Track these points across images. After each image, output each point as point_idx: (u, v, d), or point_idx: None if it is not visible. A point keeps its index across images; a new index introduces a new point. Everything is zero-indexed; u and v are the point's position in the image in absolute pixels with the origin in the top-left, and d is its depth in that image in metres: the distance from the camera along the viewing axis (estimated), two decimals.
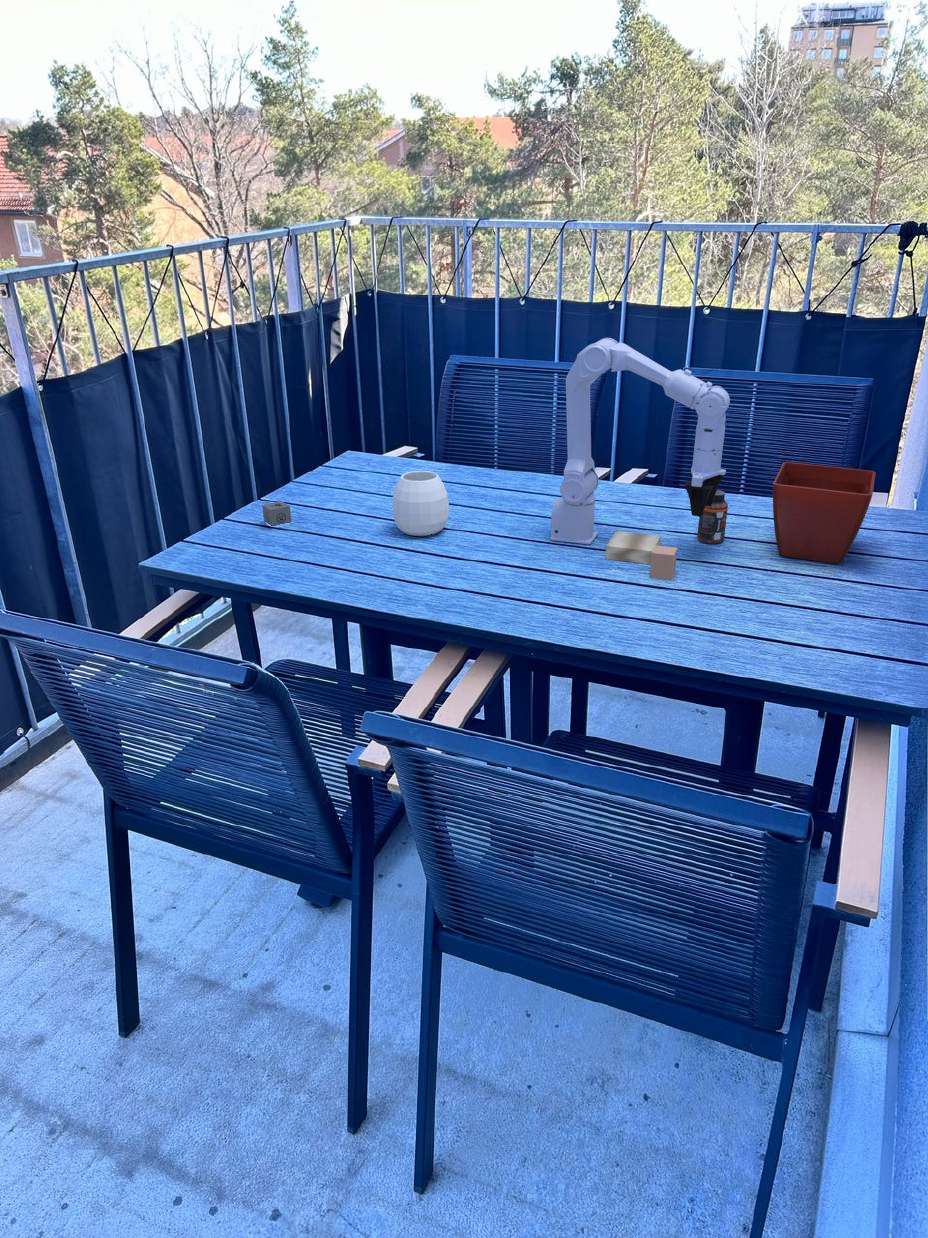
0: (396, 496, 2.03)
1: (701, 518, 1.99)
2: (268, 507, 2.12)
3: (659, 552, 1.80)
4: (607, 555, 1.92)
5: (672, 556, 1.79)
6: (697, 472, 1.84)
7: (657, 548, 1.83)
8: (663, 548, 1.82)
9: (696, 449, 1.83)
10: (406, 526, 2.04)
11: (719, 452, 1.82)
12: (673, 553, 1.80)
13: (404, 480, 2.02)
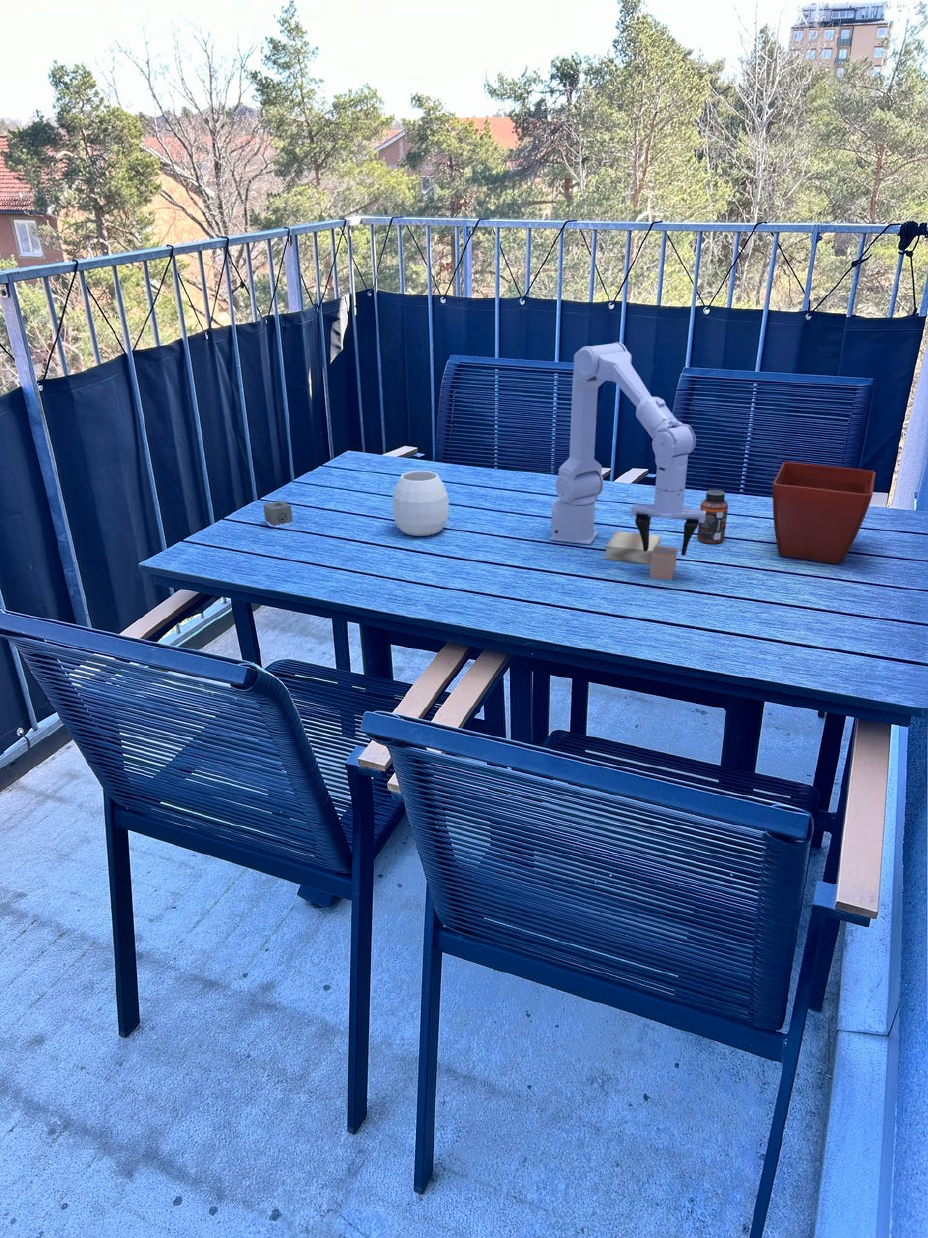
0: (396, 496, 2.03)
1: None
2: (269, 507, 2.12)
3: (659, 552, 1.80)
4: (607, 555, 1.92)
5: (672, 556, 1.79)
6: None
7: (657, 548, 1.83)
8: (663, 548, 1.82)
9: None
10: (406, 526, 2.04)
11: (662, 492, 1.74)
12: (673, 553, 1.80)
13: (404, 480, 2.02)
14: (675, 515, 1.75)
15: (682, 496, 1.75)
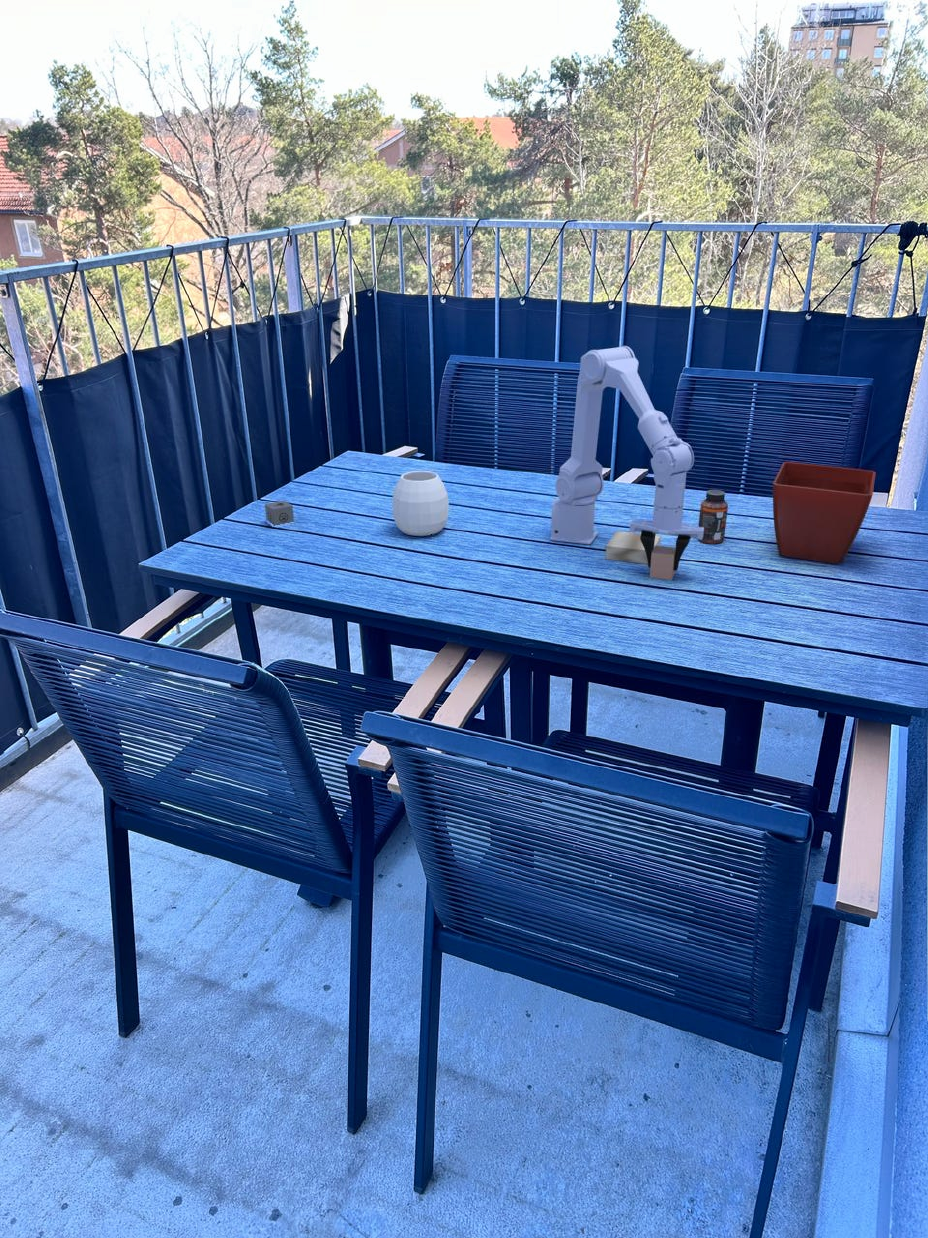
0: (396, 496, 2.03)
1: (701, 518, 1.99)
2: (271, 506, 2.12)
3: (659, 552, 1.80)
4: (607, 555, 1.92)
5: (672, 556, 1.79)
6: (653, 523, 1.81)
7: (657, 547, 1.82)
8: (663, 547, 1.82)
9: None
10: (406, 526, 2.04)
11: (660, 509, 1.76)
12: (673, 553, 1.80)
13: (404, 480, 2.02)
14: (673, 532, 1.77)
15: (680, 513, 1.76)
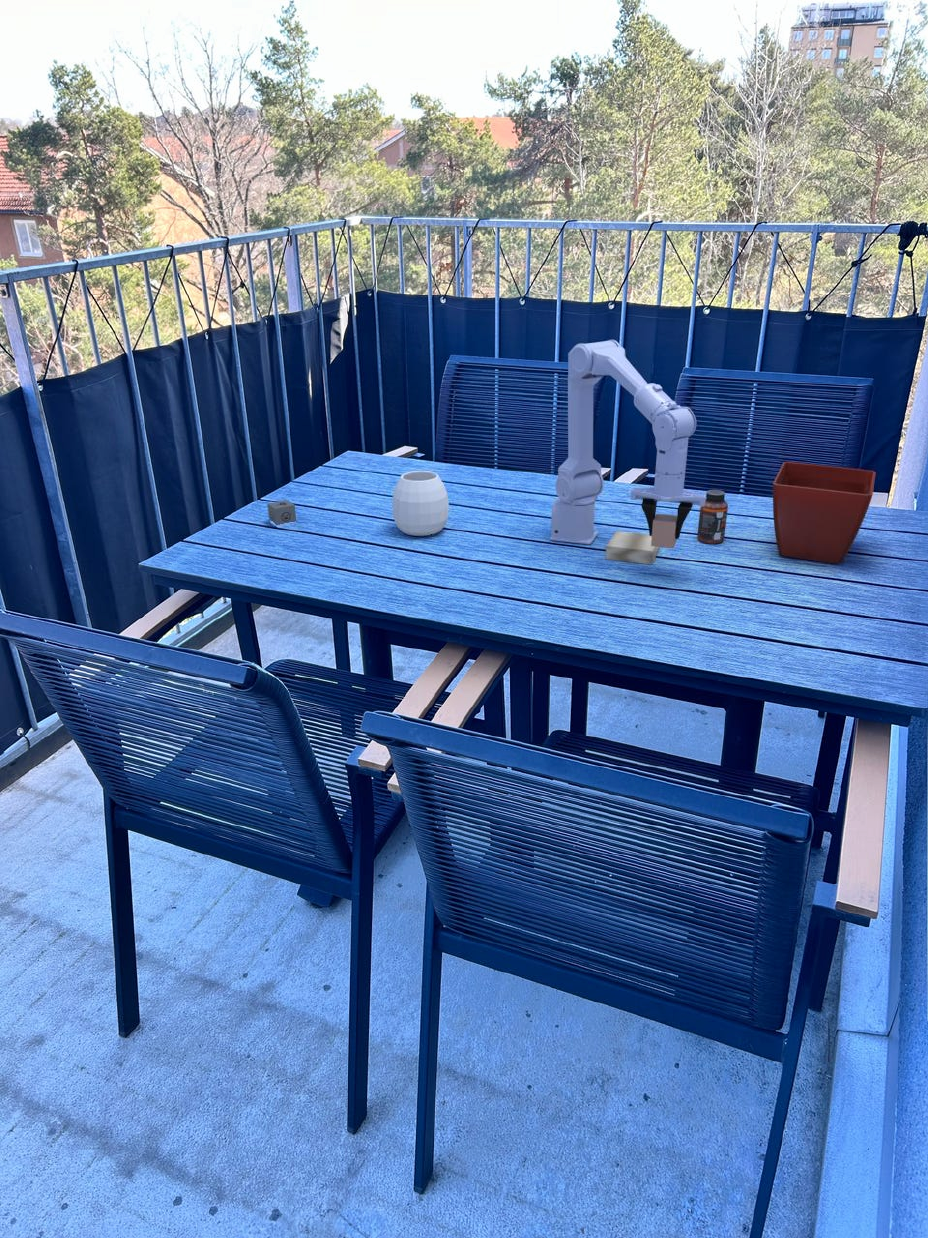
0: (396, 496, 2.03)
1: (701, 518, 1.99)
2: (273, 506, 2.13)
3: (661, 519, 1.78)
4: (607, 555, 1.92)
5: (674, 523, 1.76)
6: None
7: (658, 516, 1.80)
8: (665, 515, 1.80)
9: None
10: (406, 526, 2.04)
11: (662, 475, 1.73)
12: (675, 520, 1.77)
13: (404, 480, 2.02)
14: (675, 499, 1.74)
15: (682, 479, 1.74)
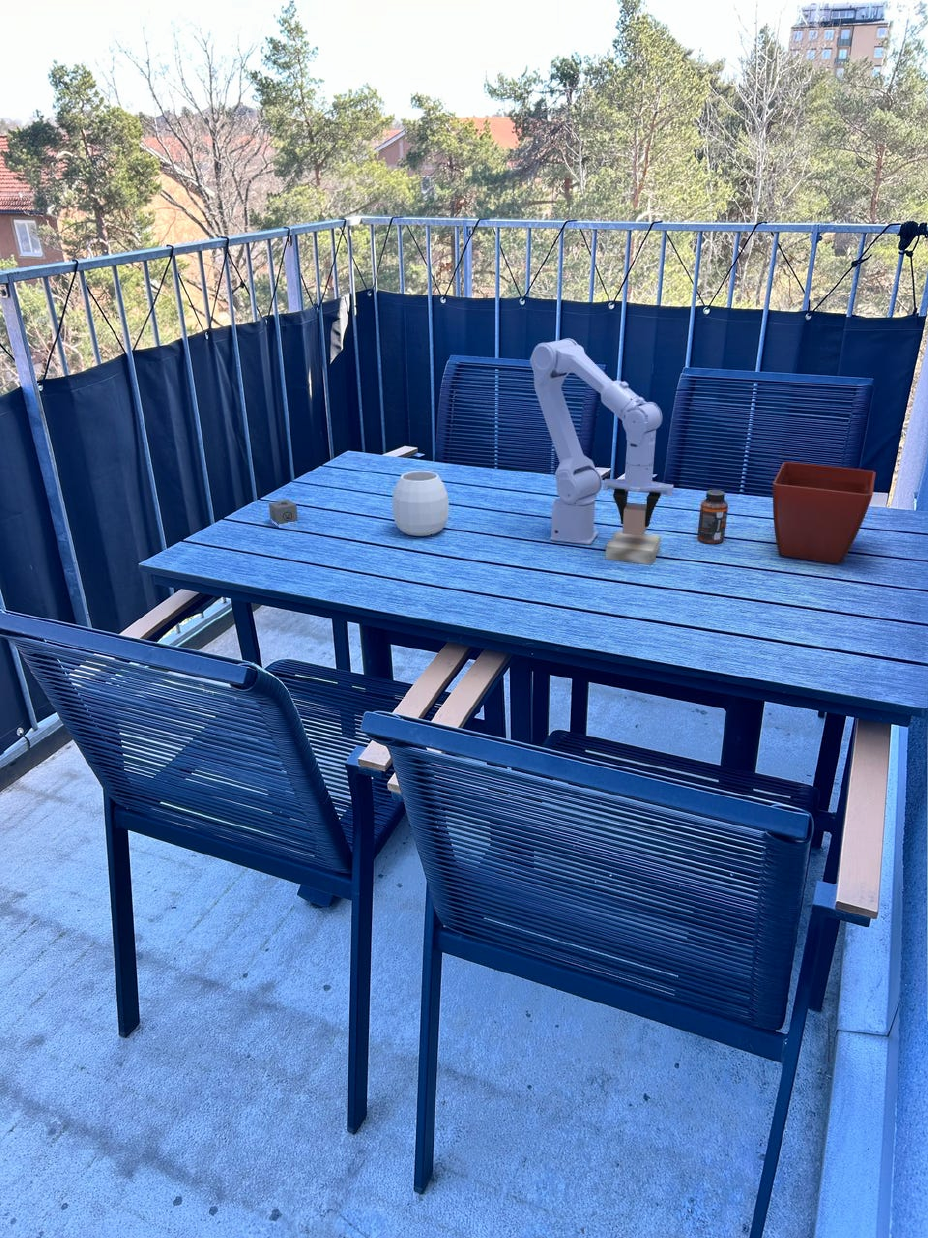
0: (396, 496, 2.03)
1: (701, 518, 1.99)
2: (275, 505, 2.13)
3: (631, 508, 1.89)
4: (607, 555, 1.92)
5: (643, 512, 1.88)
6: None
7: (629, 505, 1.91)
8: (635, 505, 1.91)
9: None
10: (406, 526, 2.04)
11: (631, 467, 1.84)
12: (644, 509, 1.89)
13: (404, 480, 2.02)
14: (644, 489, 1.85)
15: (651, 471, 1.85)
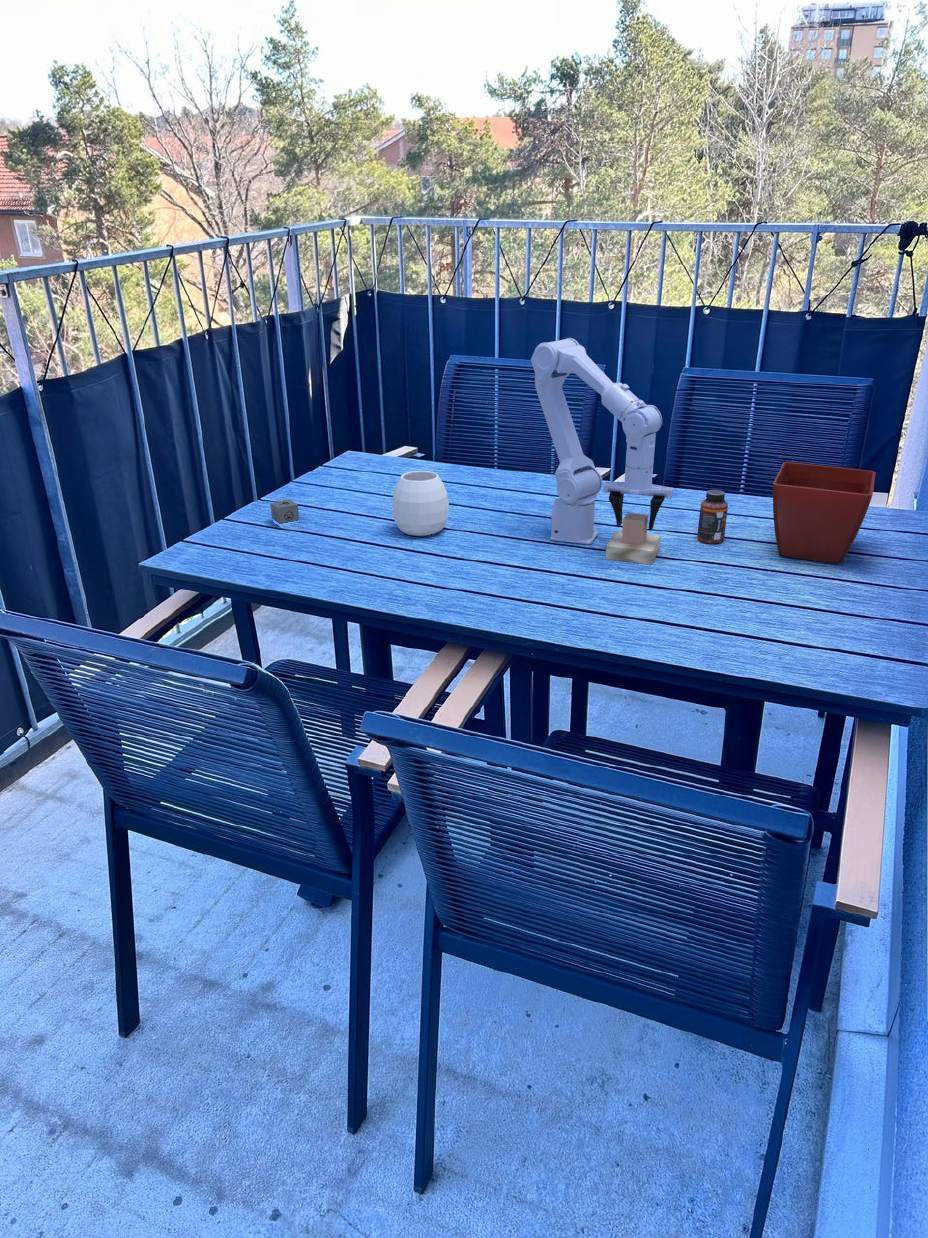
0: (396, 496, 2.03)
1: (701, 518, 1.99)
2: (276, 505, 2.13)
3: (630, 518, 1.90)
4: (607, 555, 1.92)
5: (642, 522, 1.89)
6: None
7: (629, 515, 1.92)
8: (635, 514, 1.92)
9: None
10: (406, 526, 2.04)
11: (631, 470, 1.85)
12: (643, 519, 1.89)
13: (404, 480, 2.02)
14: (644, 491, 1.86)
15: (650, 473, 1.85)
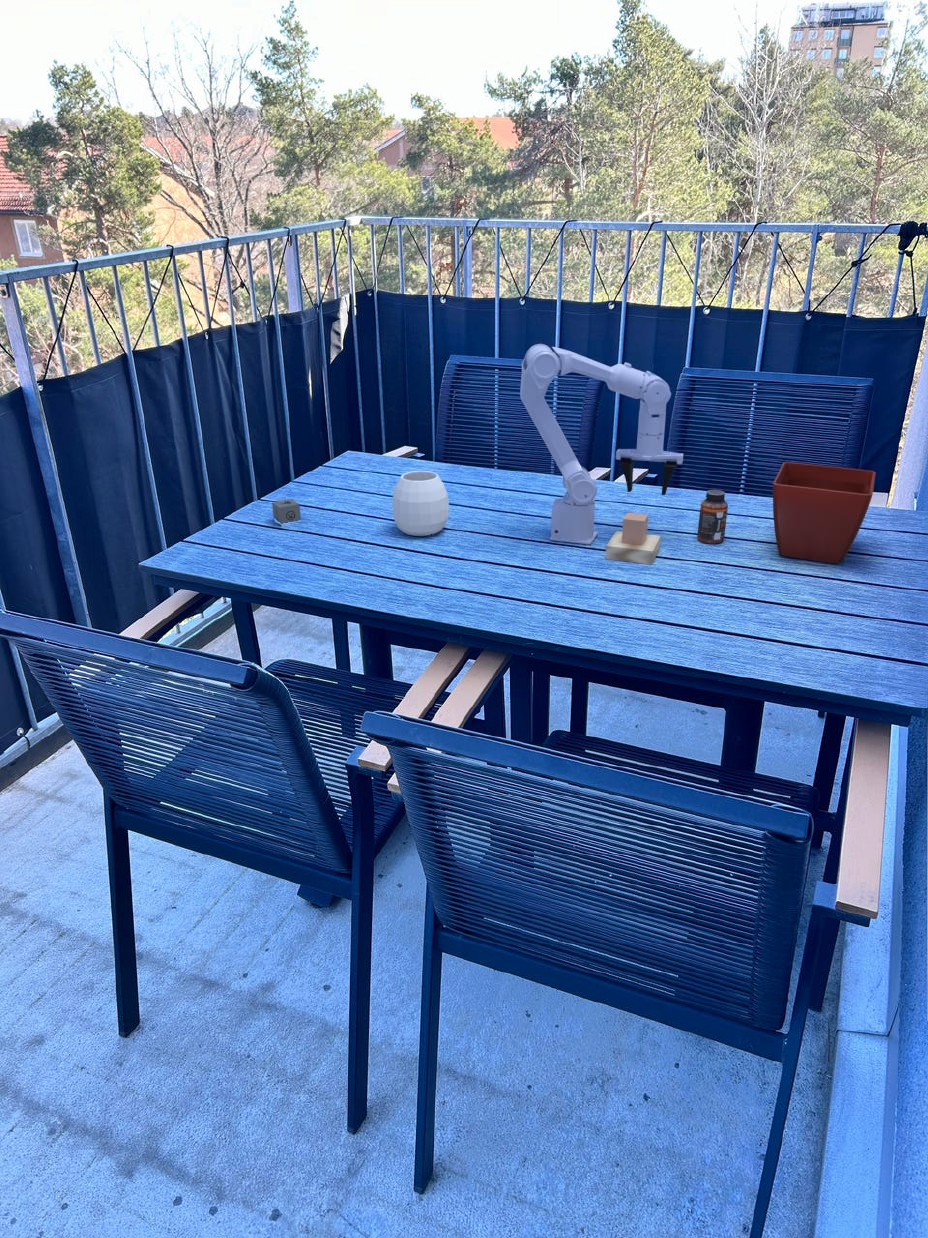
0: (396, 496, 2.03)
1: (701, 518, 1.99)
2: (278, 505, 2.14)
3: (630, 518, 1.90)
4: (607, 555, 1.92)
5: (642, 522, 1.89)
6: None
7: (629, 515, 1.92)
8: (635, 514, 1.92)
9: None
10: (406, 526, 2.04)
11: (643, 436, 1.93)
12: (643, 519, 1.89)
13: (404, 480, 2.02)
14: (655, 457, 1.94)
15: (662, 440, 1.93)
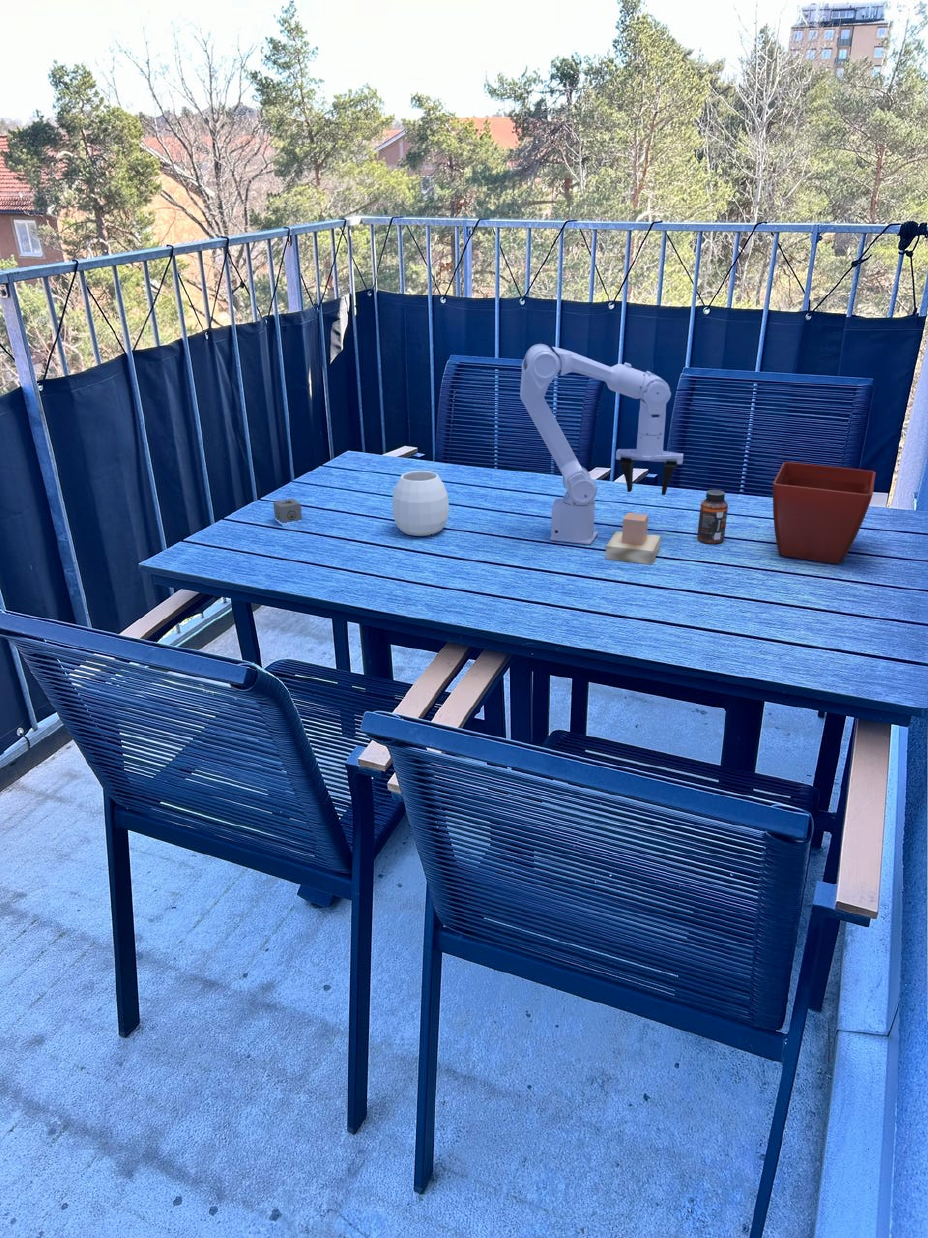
0: (396, 496, 2.03)
1: (701, 518, 1.99)
2: (279, 504, 2.14)
3: (630, 518, 1.90)
4: (607, 555, 1.92)
5: (642, 522, 1.89)
6: None
7: (629, 515, 1.92)
8: (635, 514, 1.92)
9: None
10: (406, 526, 2.04)
11: (643, 436, 1.93)
12: (643, 519, 1.89)
13: (404, 480, 2.02)
14: (655, 457, 1.94)
15: (662, 440, 1.94)
